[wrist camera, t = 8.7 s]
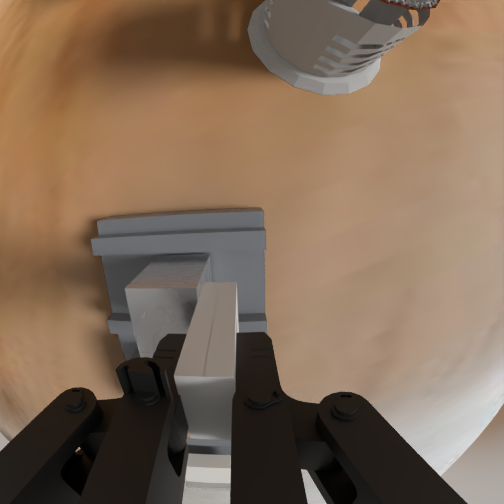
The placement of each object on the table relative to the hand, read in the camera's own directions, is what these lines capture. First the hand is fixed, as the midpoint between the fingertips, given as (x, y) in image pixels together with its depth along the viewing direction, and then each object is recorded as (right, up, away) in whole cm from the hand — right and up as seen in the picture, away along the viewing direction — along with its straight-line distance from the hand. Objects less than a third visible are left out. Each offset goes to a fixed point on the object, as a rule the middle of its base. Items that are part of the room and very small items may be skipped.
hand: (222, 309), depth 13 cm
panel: (-3, -6, +7) cm, 10 cm away
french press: (+7, +18, +1) cm, 19 cm away
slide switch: (-2, +1, +3) cm, 4 cm away
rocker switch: (-2, -15, +5) cm, 16 cm away
